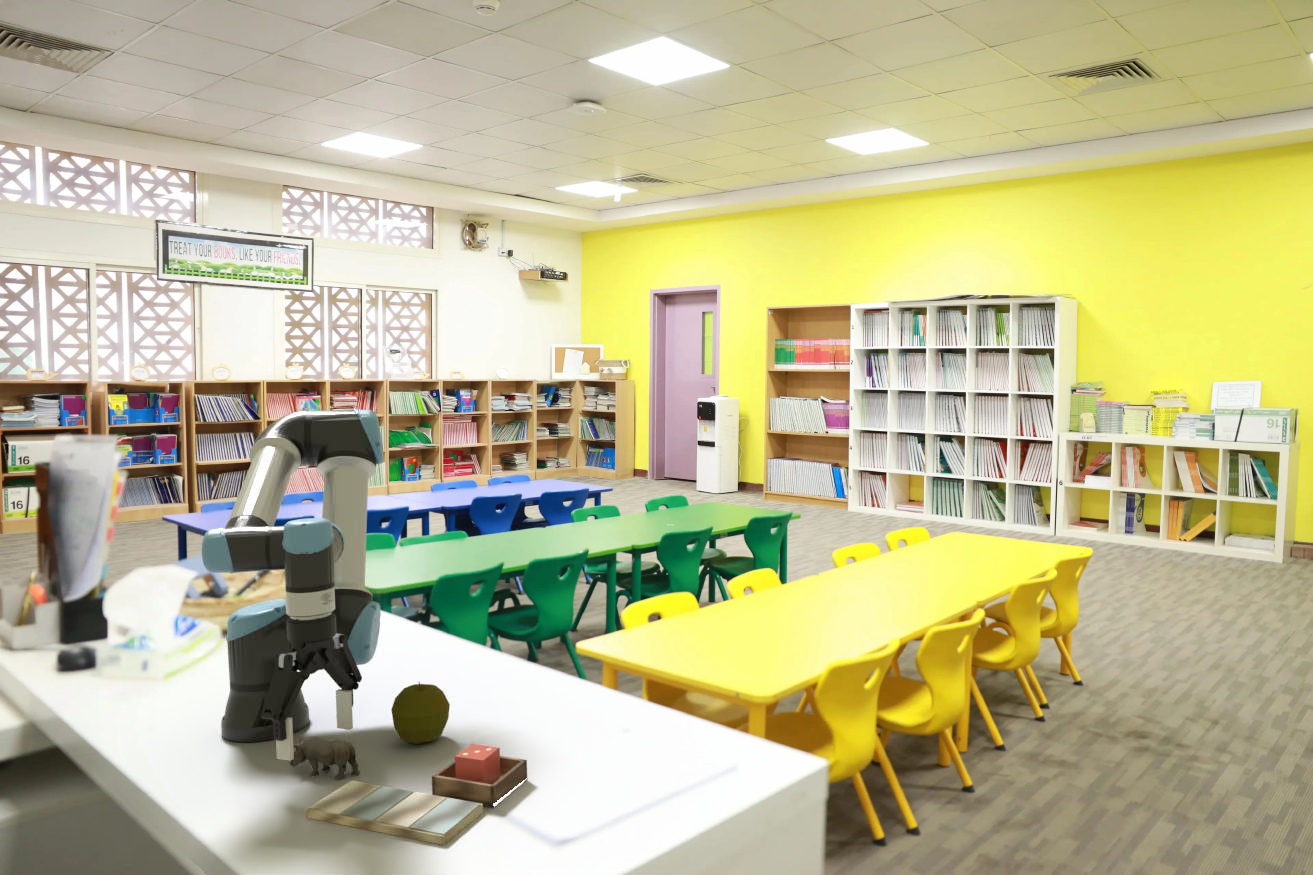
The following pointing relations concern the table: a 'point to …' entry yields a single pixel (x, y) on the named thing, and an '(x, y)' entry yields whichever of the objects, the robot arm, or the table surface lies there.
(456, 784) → the dice tray
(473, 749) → the die
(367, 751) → the table surface
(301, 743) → the rhino figurine
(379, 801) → the board
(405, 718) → the apple
